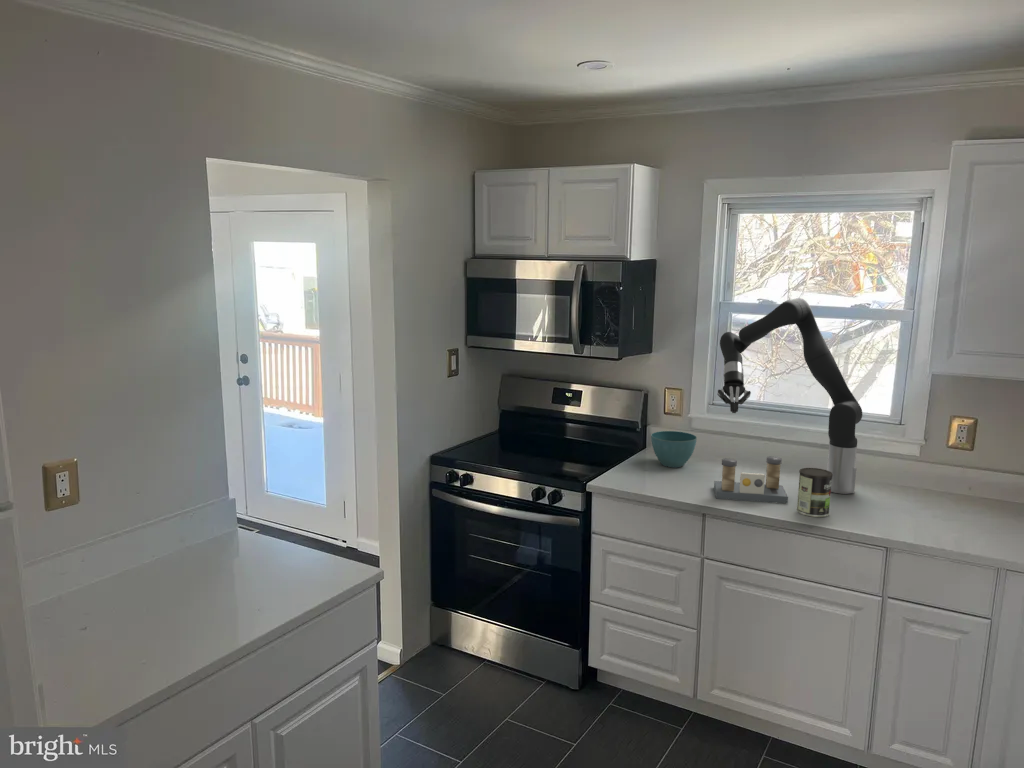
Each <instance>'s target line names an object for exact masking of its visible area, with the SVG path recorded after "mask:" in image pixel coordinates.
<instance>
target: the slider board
mask: <svg viewBox="0 0 1024 768" xmlns="http://www.w3.org/2000/svg"><path fill="white" fill-rule="evenodd" d="M739 481H740V482H737V481H736V482H734V491H725V490H722V487H721V486H722V480H721V481H719V480H714V482H713V483H714V485H713V489H715V490H714V494H716V495H715V499H720V500H733V501H734V500H735V501H746V502H747V501H749V502H759V503H772V502H777V503H776V504H786V503H788V501H789V499H788V498H789V496H788V494H787V492H786V489H785V488H784V485H780V484H779V489H775V488H767V487H766V473H758V472H757V473H754V472H753V473H752V472H743V471H742V472H740V480H739Z"/></svg>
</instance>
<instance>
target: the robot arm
mask: <svg viewBox="0 0 1024 768" xmlns="http://www.w3.org/2000/svg"><path fill="white" fill-rule="evenodd" d="M789 325H791V326H792V325H796V327H797V328H798V330H799V333H800V334H801V337H802V342H803V344H802V345H803V346H802V349H803V358H804V362H805V363H806V365H807V368H808V369H809V371H810V373H811V374H812V376H813V378H814V379H815V380H816V381H817V382H818V384H819V385H820V386H821V387H822V388H823V389H824V390H825V391H826V392H827V394H828V395H829V397H830V399H831V401H832V403H833V406H832V407H831V409H830V410H829V416H828V429H827V431H828V439H829V443H828V445H829V446H828V455H827V456H828V457H827V465H826V466H827V468H826V470H827V471H830V472H832V474H833V476H832V483H831V493H835V494H842V495H843V494H844V495H845V494H846V495H847V494H855V490H856V488H855V487H856V479H857V467H856V460H857V450H858V438H857V437H856V425H857V424H859V423H860V422H861V420H862V418H863V410H862V407H861V405H860V403H859V402H858V401H857V400H858V399H856V397H855V395H854V394H853V393H852V391H851V390H850V388H849V386H848V385H847V383H846V380H845V378H844V376H843V374H842V372H841V370H840V368H839V366H838V364H837V363H836V362H837V361H836V360H835V358H834V356H833V354H832V352H831V350H830V348H829V347H828V345H827V342H826V341H825V338H824V337H823V334H822V333H821V331H820V328H819V326H818V323H817V321H816V318H815V315H814V313H813V310H812V308H811V305H810V304H809V303H808V302H807V300H805V299H804V298H800V297H797V298H792V299H788V300H785V301H783V302H782V303H780V304H779V305H778V306H777V307H776V308H774V309H773V310H772V311H770V312H769V313H768V314H766V315H764V316H763V317H761V318H758V320H755V321H753V322H752V323H750V324H748V325H745V326H744V327H742V328H740V330H738V335H737V334H736V333H733V332H731V331H726V332H724V333H723V334H722V335H721V337H720V339H719V347H720V350H721V353H722V357H723V361H724V362H723V363H724V364H723V365H724V367H723V374H722V375H723V386H722V388H721V389H718V390H717V396H718V397H719V398H720V399H721V401H723V402H724V403H725V404H726V405H730V406H729V408H730V412H731V413H732V414H736V413H737V412H738V411H739V405H740V406H741V405H743V404H744V403H745V401H747V400H748V399H749V398H750V397H751V394H752V392H751V390H747V389H746V387H745V384H744V383H745V379H744V367H743V356H742V353H743V352H745V351H746V349H748V347H750V346H751V344H752V343H755V342H757V341H759V340H761V339H763V338H764V337H766V336H767V335H769V333H771V332H773V331H774V330H776V329H778V328H782V327H786V326H789ZM742 395H743V396H742ZM741 396H742V397H741Z"/></svg>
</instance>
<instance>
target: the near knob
mask: <svg viewBox="0 0 1024 768" xmlns="http://www.w3.org/2000/svg"><path fill="white" fill-rule="evenodd" d="M765 459H766V461H765V462H766V473H765V484H766V487H767V488H775V489H779V485H780V477H781V476H780V474H781V465H782V461H783V459H782V457H779V456H772V455H771V456H767V457H766V458H765Z"/></svg>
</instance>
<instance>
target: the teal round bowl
mask: <svg viewBox="0 0 1024 768" xmlns="http://www.w3.org/2000/svg"><path fill="white" fill-rule="evenodd" d="M697 438H698V437H697V435H694V434H692V433H689V432H684V431H676V430H675V431H674V430H662V431H655V432H653V433H651V434H650V439H651V446H652V449H653V452H654V454H655V457H656V458H657V459H658V461H659V462H660V464H661V465H663V466H664V467H667V466H668V468H681V466H682V467H684V465H686V463H687V462H688V461H689V459H690V458H691V457H692V455H693V453H694V450H695V447H696V445H697V440H698V439H697Z"/></svg>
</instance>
